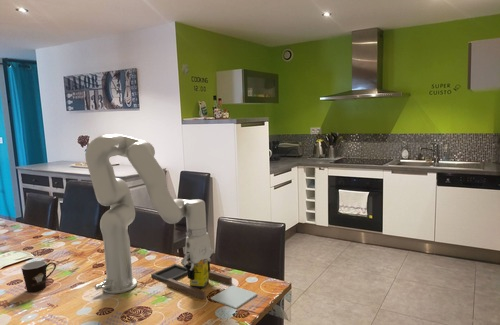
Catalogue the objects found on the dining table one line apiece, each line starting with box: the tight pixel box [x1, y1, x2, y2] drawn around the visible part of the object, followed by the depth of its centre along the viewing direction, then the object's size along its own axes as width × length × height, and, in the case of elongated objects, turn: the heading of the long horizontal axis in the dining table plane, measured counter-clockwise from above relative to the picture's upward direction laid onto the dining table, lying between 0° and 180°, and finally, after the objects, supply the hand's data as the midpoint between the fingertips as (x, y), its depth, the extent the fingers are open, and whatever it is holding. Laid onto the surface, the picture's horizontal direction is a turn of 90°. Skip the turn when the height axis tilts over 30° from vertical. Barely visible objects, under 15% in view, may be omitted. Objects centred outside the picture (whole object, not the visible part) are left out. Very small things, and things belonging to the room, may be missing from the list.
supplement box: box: [189, 258, 210, 289], centre depth 140 cm, size 6×6×11 cm
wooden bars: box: [166, 269, 233, 301], centre depth 140 cm, size 16×20×2 cm
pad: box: [210, 284, 258, 310], centre depth 129 cm, size 12×12×1 cm
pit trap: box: [151, 263, 188, 284], centre depth 151 cm, size 13×11×1 cm
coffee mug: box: [20, 260, 57, 294], centre depth 142 cm, size 12×9×10 cm
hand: (199, 274), depth 140 cm, fingers closed on supplement box, 7 cm apart
